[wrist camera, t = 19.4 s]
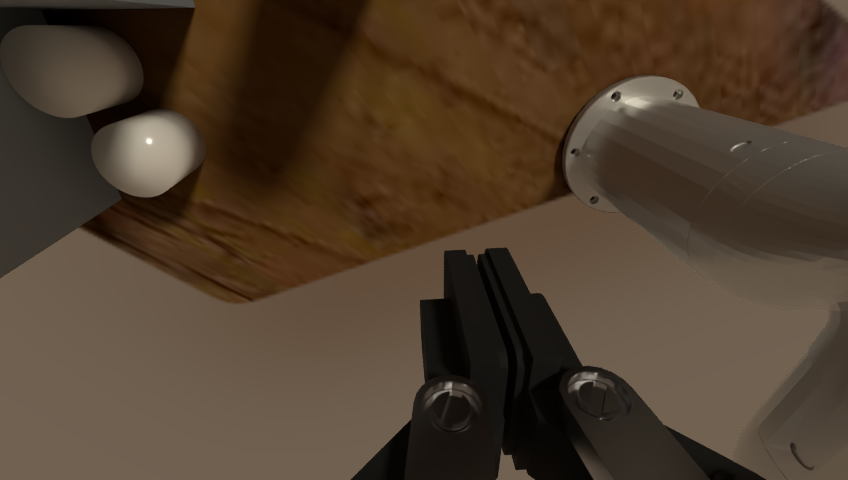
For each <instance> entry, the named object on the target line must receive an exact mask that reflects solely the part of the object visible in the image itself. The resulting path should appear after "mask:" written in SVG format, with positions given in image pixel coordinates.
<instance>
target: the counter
mask: <svg viewBox="0 0 848 480" xmlns="http://www.w3.org/2000/svg"><path fill="white" fill-rule="evenodd" d="M147 8H195V6H194V2H193V0H0V45H1V42H2V40H3V38H4V36H5V35H6V34H7V33H8V32H9V31H11V30H12V29H14V28H16V27H20V26H25V25H47V22H46V20H45V18H44V15H43V13H42V11H41V10H85V9H147ZM94 136H95V135H94V132H93V130H92V128H91V125H90V123H89V121H88V118H87V116H86V115H83V116H79V117H75V118H62V117H57V116H53V115H50V114H47V113H45V112H43V111H41V110H39V109H37V108H35V107H34V106H32V105H31V104H30V103H28V102H27V101H26V100H25V99H23V98H22V97H21V96H20V95H19V94H18V93H17V92H16V91H15V89H14V88H13V87H12V86H11V84H10V83H9V81H8V79H7V78H6V76H5V74H4V72H3V69H2V66H1V63H0V278H1V277H3V276H4V275H6V274H7V273H9V272H10V271H12V270H13V269H15V268H16V267H18V266H19V265H21V264H23V263H24V262H26V261H27V260H29V259H30V258H32V257H33V256H35V255H36V254H38V253H40V252H41V251H43V250H44V249H46V248H47V247H49V246H50V245H52V244H54V243H55V242H57V241H58V240H60V239H61V238H63V237H64V236H66V235H67V234H69V233H70V232H72V231H73V230H75V229H77V228H78V227H80V226H81V225H83V224H84V223H86V222H87V221H89V220H91V219H92V218H94V217H95V216H97V215H98V214H100V213H101V212H103V211H104V210H106V209H107V208H109V207H111V206H112V205H114V204H115V203H117V202H118V201H120V200H121V199H122V198H121V196H120V193H119V191H118V189H117V188H116V187H114V186H113V185H111V184H110V183H109V182H108V181H107V180H106V179H105V178H104V177H103V176H102V175H101V174H100V172H99V171H98V169H97V168H96V166H95V164H94V161H93V158H92V154H91V144H92V140H93V138H94Z"/></svg>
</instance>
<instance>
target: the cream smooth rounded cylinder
mask: <svg viewBox="0 0 848 480" xmlns="http://www.w3.org/2000/svg"><path fill="white" fill-rule="evenodd" d="M91 154H92V158H93V161H94V164H95V166H96V168H97V169H98V171H99V172H100V174H101V175H102V176H103V177H104V178H105V179H106V180H107V181H108V182H109V183H110V184H111V185H113V186H114V187H116V188H117V189H119V190H121V191H123V192H125V193H127V194H130V195H133V196H138V197H154V196H158V195H160V194H163V193H164V192H166V191H167V190H168V189H170V188H171V187H172V186H174V185H175V184H177V183H178V182H179V181H181V180H182V179H183V178H185V177H186V176H187V175H189V174H190V173H191V172H193V171H194V170H195V169H197V168H198V167H199V166H200V165H201V164H202V162H203V160H204V158H205V154H206V146H205V141H204V138H203V136H202V134H201V132H200V130H199V129H198V128H197V126H196V125H195V124H194V123H193V122H192V121H191V120H190V119H188V118H187V117H186V116H184V115H182V114H180V113H178V112H176V111H173V110H169V109H163V108H160V109H152V110H149V111H146V112H144V113H141V114H138V115H135V116H132V117H129V118H127V119H124V120H121V121H118V122H115V123H112V124H110V125H107V126H105V127H103V128H101V129H100V130H99V131H98V132H97V133H96V134H95V136H94V138H93V140H92V144H91Z"/></svg>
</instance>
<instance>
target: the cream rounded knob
mask: <svg viewBox="0 0 848 480" xmlns="http://www.w3.org/2000/svg"><path fill="white" fill-rule="evenodd" d="M0 63H1V66H2V69H3V72H4V74H5V76H6V78H7V79H8V81H9V83H10V84H11V86H12V87H13V88H14V89H15V91H16V92H17V93H18V94H19V95H20V96H21V97H22V98H23V99H25V100H26V101H27V102H28V103H30V104H31V105H32V106H34V107H35V108H37V109H39V110H41V111H43V112H45V113H47V114H50V115H53V116H57V117H62V118H75V117H79V116H83V115H86V114H90V113H93V112H97V111H100V110H103V109H107V108H110V107H114V106H117V105H120V104H124V103H127V102H130V101H132V100H133V99H135V98H136V97H137V96H138V95H139V93H140V92H141V90H142V87H143V82H144V74H143V69H142V65H141V63H140V60H139V58H138V57H137V55H136V53H135V52H134V50H133V49H132V48H131V47H130V45H129V44H128V43H127V42H126V41H125V40H123V39H122V38H121V37H120V36H118V35H117V34H115V33H114V32H112V31H110V30H108V29H105V28H102V27H99V26H94V25H25V26H20V27H16V28H14V29H12V30H11V31H9V32H8V33H7V34H6V35H5V36H4V38H3V40H2V42H1V45H0Z"/></svg>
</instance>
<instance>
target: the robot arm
mask: <svg viewBox="0 0 848 480" xmlns="http://www.w3.org/2000/svg"><path fill="white" fill-rule="evenodd" d="M612 94H613V97H612V98H611V96H612ZM573 149H574V150H573ZM572 150H573V152H571V151H572ZM562 168H563V173H564V178H565V180H566V182H567V185H568V187H569V188H570V190H571V191H572V192H573V194H574V195H575V196H576V197H577V198H578V199H579V200H581V201H582V202H583V203H585V204H586V205H588V206H589V207H591V208H594V209H597V210H599V211H604V212H611V213H615V212H622V213H623V214H625V215H626V216H627V217H628V218H630V219H631V220H632V221H633V222H635V223H636V224H637V225H639V226H640V227H641V228H642V229H643V230H645V231H646V232H647V233H648V234H649V235H651V236H652V237H653V238H654V239H656V240H657V241H658V242H659V243H661V244H662V245H663V246H664V247H666V248H667V249H668V250H669V251H671V252H672V253H673V254H674V255H676V256H677V257H678V258H679V259H680V260H682V261H683V262H684V263H686V264H687V265H688V266H689V267H690V268H692V269H693V270H694V271H696V272H697V273H698V274H699V275H701V276H702V277H703V278H705V279H706V280H707V281H708V282H710V283H711V284H712V285H713V286H715V287H716V288H717V289H719V290H720V291H722V292H723V293H725V294H727V295H729V296H731V297H733V298H735V299H737V300H739V301H742V302H745V303H748V304H751V305H755V306H759V307H765V308H771V309H780V310H829V319H828V321H827V323H826V325H825V327H824V328H823V330H822V331H821V332H820V334H819V335H818V336H817V338H816V339H815V340H814V341H813V343H812V344H811V345H810V347H809V350H808V351H807V352H806V353H805V355H804V356H803V357H802V358H801V359H800V360H799V362H798V363H797V364H796V365H795V366H794V367H793V368H792V370H791V371H790V372H789V373H788V374H787V375H786V377H785V378H784V379H783V380H782V381H781V382H780V384H779V385H778V386H777V387H776V388H775V389H774V391H773V392H772V393H771V394H770V395H769V396H768V397H767V399H766V400H765V401H764V402H763V403H762V404H761V406H760V408H759V409H758V410H757V411H756V412H755V414H754V415H753V416H752V417H751V419H750V420H749V422H748V423H747V424H746V426H745V427H744V429H743V430H742V432H741V434H740V436H739V438H738V440H737V442H736V445H735V449H734V454H733V461H732V460H730V459H728V458H726V457H724V456H722V455H720V454H718V453H717V452H715V451H713V450H711V449H709V448H707V447H705V446H703V445H701V444H699V443H698V442H696V441H694V440H692V439H690V438H688V437H686V436H684V435H682V434H680V433H678V432H676V431H675V430H673V429H671V428H669V427H667V426H665V425H663V423H662V422H661V421H660V420H659V419H658V417H657V416H656V415H655V414H654V413H653V411H652V410H651V409H650V408H649V407H648V406H647V404H646V403H645V402H644V401H643V400H642V398H640V396H639V395H638V394H637V393H636V391H635V390H634V389H633V388H632V387H631V386H630V385H629V384H628V383H627V382H626V381H625V380H624V379H622V378H621V377H619V376H617V375H616V374H614V373H612V372H610V371H608V370H605V369H603V368H599V367H593V366H582V364H581V363H580V361H579V359H578V357H577V355H576V353H575V352H574V350H573V348H572V346H571V344H570V343H569V341H568V339H567V337H566V335H565V334H564V332H563V330H562V328H561V326H560V325H559V323H558V321H557V319H556V317H555V316H554V314H553V312H552V310H551V308H550V307H549V305H548V303H547V301H546V299H545V298H544V296H543V295H542V294H540V293H535V294H530V292H529V290H528V288H527V286H526V284H525V282H524V280H523V278H522V276H521V274H520V272H519V270H518V268H517V266H516V264H515V262H514V261H513V258H512V257H511V255H510V253H509V251H508V249H507V248H490V249H486V250H485V253H484V254H479V255H478V261H477V264H476V261H475V258H474V256H473V255H467V254H466V251H465V250H452V251H445V252H444V299H433V300H432V299H431V300H420V316H421V338H422V339H421V340H422V354H423V366H424V378H425V384H424V385H422V387H421V388H420V389H419V391H418V392H417V393H416V397H415V400H414V403H413V411H412V419H411V420H410V421H409V422H408V423H407V424H406V425H405V426H404V427H403V428H402V429H401V430H400V431H399V432H398V433H397V434H396V435H395V436H394V437H393V438H392V439H391V440H390V441H389V442H388V443H387V444H386V445H385V446H384V447H383V448H382V449H381V450H380V451H379V452H378V453H377V454H376V455H375V456H374V457H373V458H372V459H371V460H370V461H369V462H368V463H367V464H366V465H365V466H364V467H363V468H362V469H361V470H360V471H359V472H358V473H357V474H356V475H355V476H354V477H353V478H352V479H351V480H496V479H497V477H498V471H499V463H500V455H501V447H502V450H503V453H504V455H512V458H513V462H514V465H515V469H516V470H523V469H526V470H527V473H528V475H530V476H531V477H532V478H534V479H535V480H848V147H844V146H840V145H836V144H833V143H829V142H825V141H821V140H818V139H814V138H810V137H806V136H803V135H798V134H795V133H791V132H788V131H784V130H780V129H776V128H773V127H769V126H765V125H761V124H758V123H754V122H750V121H746V120H743V119H739V118H735V117H731V116H728V115H724V114H720V113H717V112H713V111H709V110H705V109H702V108H700V107H699V105H698V103H697V101H696V99H695V97H694V96H693V95H692V93H691V92H690V91H689V90H688V89H687V88H686V87H684V86H683V85H681V84H680V83H678V82H677V81H674V80H671V79H668V78H665V77H659V76H653V75H650V76H636V77H632V78H627V79H624V80H622V81H619V82H617V83H615V84H613V85H611V86H609V87H608V88H606V89H604V90H603V91H601V92H600V93H598V94H597V95H596V96H595V97H594V98H593V99H592V100H591V101H589V102H588V103H587V104H586V106H585V107H584V108H583V109H582V110H581V112H580V113H579V114H578V115H577V117H576V119H575V120H574V122H573V124H572V125H571V127H570V129H569V132H568V134H567V137H566V139H565V143H564V148H563V153H562Z"/></svg>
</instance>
